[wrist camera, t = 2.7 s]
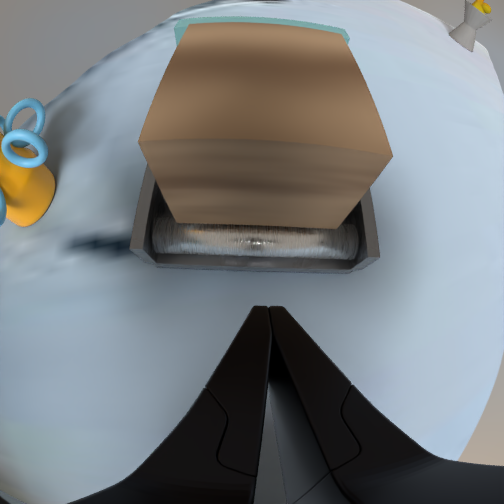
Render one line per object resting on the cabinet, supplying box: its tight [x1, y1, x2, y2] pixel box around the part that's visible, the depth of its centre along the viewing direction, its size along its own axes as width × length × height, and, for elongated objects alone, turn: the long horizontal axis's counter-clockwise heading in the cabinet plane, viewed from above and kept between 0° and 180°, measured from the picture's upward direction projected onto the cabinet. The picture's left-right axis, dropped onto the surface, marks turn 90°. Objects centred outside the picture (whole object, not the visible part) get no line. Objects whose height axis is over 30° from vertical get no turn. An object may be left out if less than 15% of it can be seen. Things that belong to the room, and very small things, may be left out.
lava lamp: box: [449, 0, 492, 52], centre depth 24 cm, size 9×9×35 cm
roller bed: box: [130, 163, 380, 273], centre depth 19 cm, size 17×14×4 cm
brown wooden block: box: [138, 22, 393, 229], centre depth 13 cm, size 10×9×7 cm
